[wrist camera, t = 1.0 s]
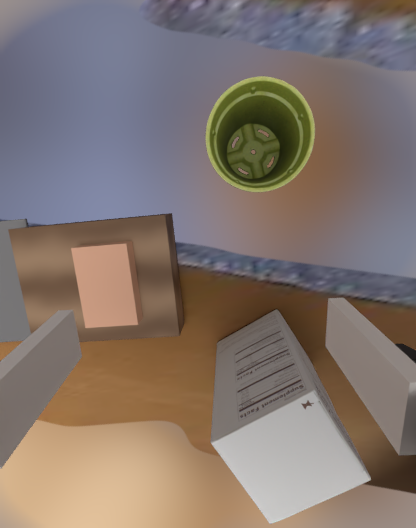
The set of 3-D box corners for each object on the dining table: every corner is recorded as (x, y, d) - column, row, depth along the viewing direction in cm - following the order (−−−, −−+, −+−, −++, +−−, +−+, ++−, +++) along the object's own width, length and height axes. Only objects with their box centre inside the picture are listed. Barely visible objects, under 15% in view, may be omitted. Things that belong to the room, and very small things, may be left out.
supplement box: (214, 341, 40) (204, 440, 23) (276, 306, 38) (312, 385, 22) (253, 398, 41) (269, 530, 25) (315, 366, 40) (376, 484, 23)
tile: (143, 318, 36) (138, 324, 34) (93, 321, 36) (85, 328, 34) (132, 241, 34) (126, 243, 32) (80, 245, 34) (70, 248, 32)
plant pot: (197, 171, 36) (187, 162, 27) (234, 92, 34) (236, 55, 25) (268, 208, 36) (280, 210, 28) (309, 131, 34) (336, 108, 26)
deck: (184, 322, 40) (179, 336, 36) (52, 331, 41) (33, 344, 37) (171, 213, 37) (165, 214, 33) (30, 226, 38) (8, 229, 34)
